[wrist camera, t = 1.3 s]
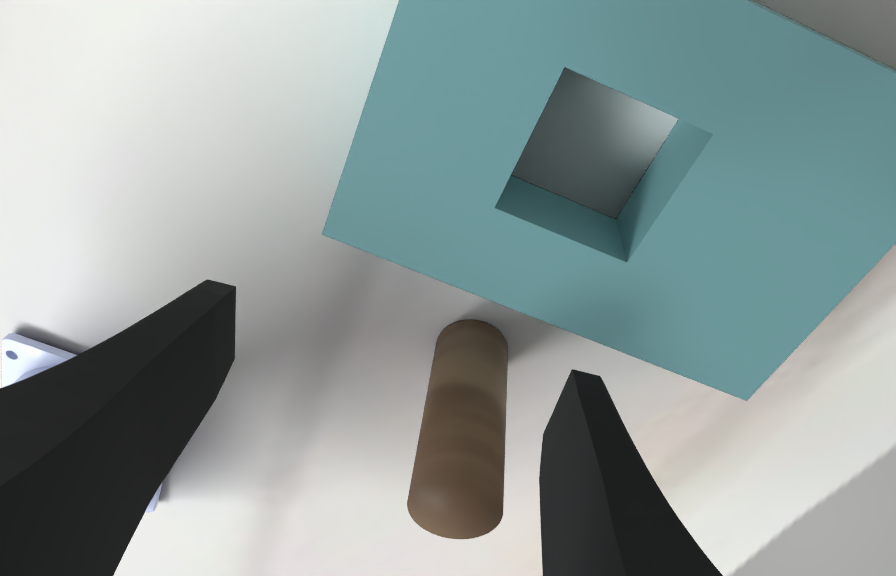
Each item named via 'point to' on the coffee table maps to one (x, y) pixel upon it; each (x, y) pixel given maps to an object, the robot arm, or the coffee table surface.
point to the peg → (462, 434)
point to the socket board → (660, 189)
